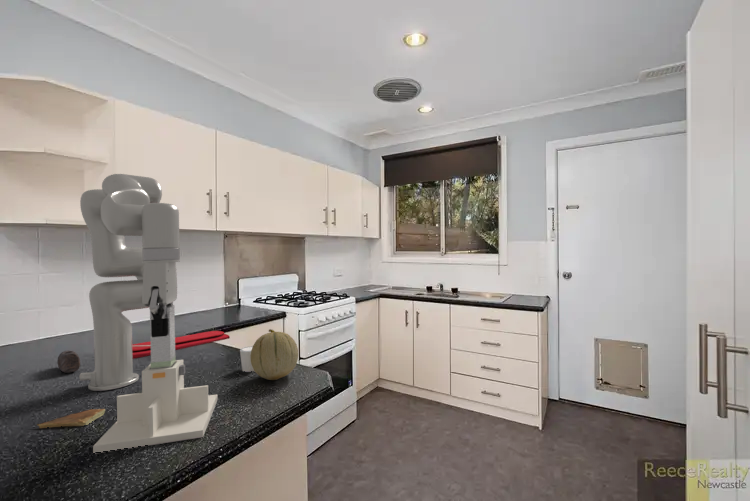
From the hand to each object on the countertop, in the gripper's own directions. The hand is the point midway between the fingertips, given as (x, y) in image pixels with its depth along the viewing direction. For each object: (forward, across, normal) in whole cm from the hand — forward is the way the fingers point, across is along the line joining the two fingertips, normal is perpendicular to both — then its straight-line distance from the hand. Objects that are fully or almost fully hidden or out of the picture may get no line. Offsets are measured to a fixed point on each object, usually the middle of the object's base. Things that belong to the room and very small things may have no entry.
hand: (162, 333), depth 82 cm
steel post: (+12, 0, 0) cm, 12 cm away
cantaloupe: (+21, -22, +25) cm, 40 cm away
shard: (+22, -7, -21) cm, 31 cm away
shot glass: (+21, -34, +17) cm, 44 cm away
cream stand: (+21, 0, 0) cm, 21 cm away
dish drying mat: (+22, -79, -16) cm, 83 cm away
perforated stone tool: (+21, -55, -45) cm, 74 cm away
